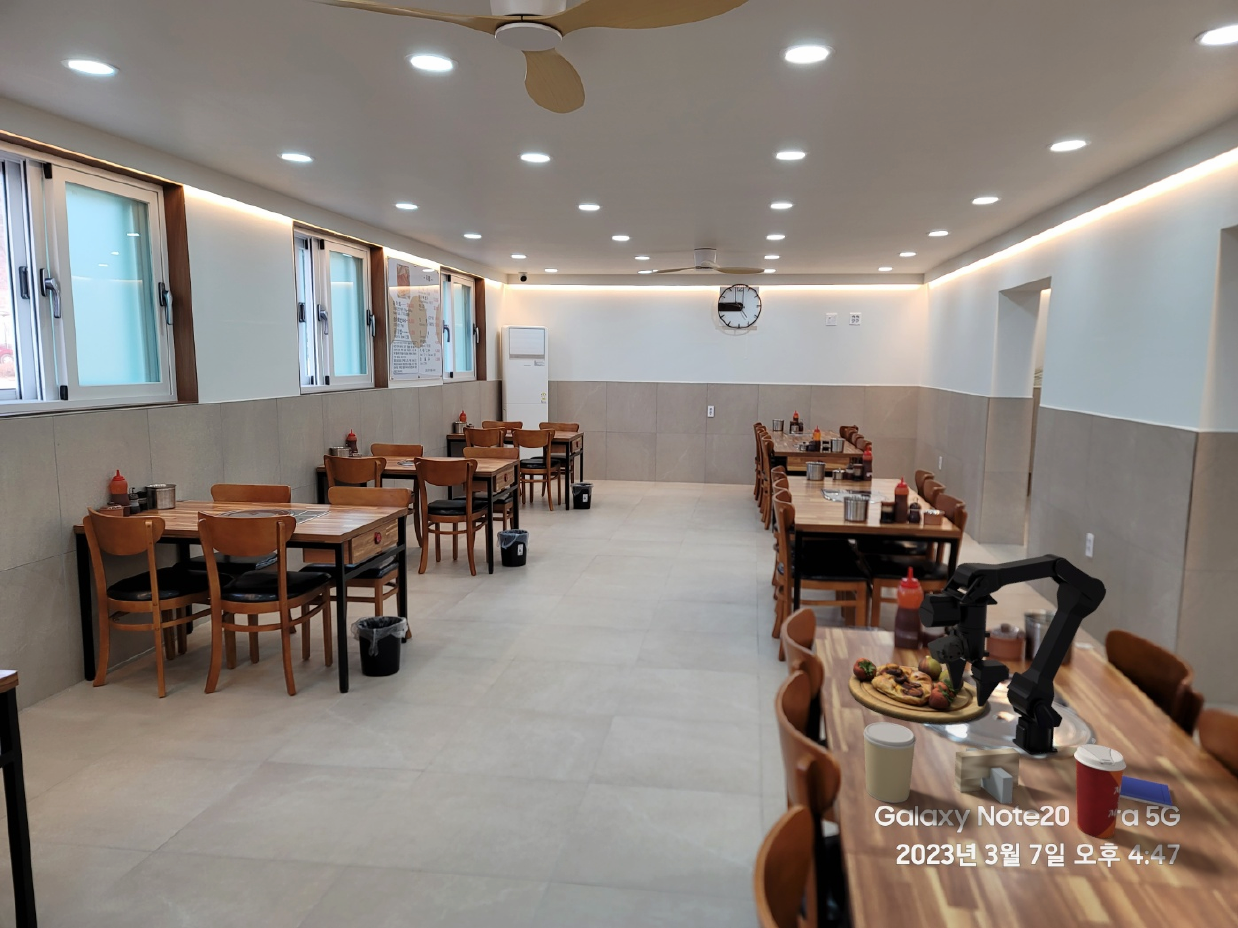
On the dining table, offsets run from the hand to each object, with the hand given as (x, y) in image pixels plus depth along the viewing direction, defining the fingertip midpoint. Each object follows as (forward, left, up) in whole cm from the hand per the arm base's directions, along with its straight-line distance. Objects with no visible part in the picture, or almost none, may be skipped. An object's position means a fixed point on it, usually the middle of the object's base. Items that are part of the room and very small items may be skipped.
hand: (967, 697), depth 166 cm
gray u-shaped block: (+4, +14, -12) cm, 19 cm away
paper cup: (-6, +30, -12) cm, 33 cm away
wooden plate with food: (-5, -30, -13) cm, 33 cm away
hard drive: (-23, +19, -13) cm, 32 cm away
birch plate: (+4, +14, -12) cm, 19 cm away
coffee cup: (+24, +13, -12) cm, 30 cm away
